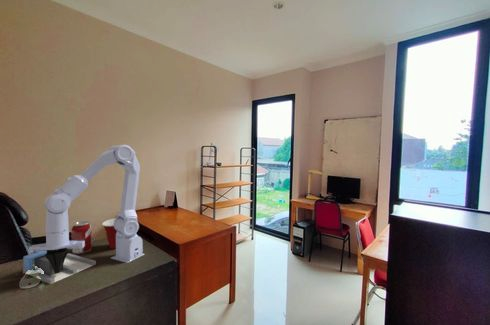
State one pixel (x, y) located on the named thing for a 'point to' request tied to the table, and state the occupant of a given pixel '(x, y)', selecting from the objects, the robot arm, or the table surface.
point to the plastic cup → (110, 232)
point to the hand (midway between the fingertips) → (58, 271)
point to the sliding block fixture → (69, 268)
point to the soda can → (82, 236)
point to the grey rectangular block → (44, 265)
